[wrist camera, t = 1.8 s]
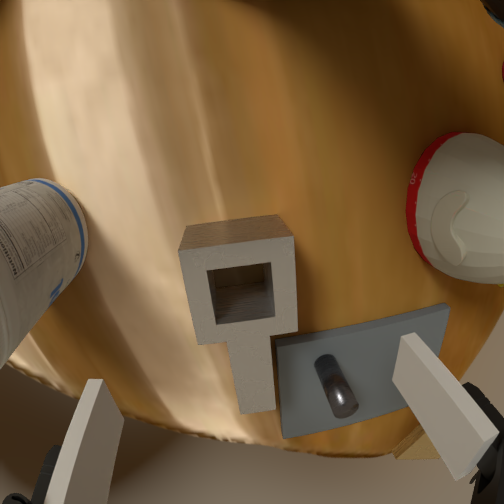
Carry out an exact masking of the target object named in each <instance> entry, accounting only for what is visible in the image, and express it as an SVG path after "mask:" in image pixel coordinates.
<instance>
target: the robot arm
mask: <svg viewBox="0 0 504 504" xmlns="http://www.w3.org/2000/svg"><path fill="white" fill-rule="evenodd" d="M480 1H481V2H482V3H483V5H484V8H485V9H486V10H487V13H488V14H489V16H490V17H491V18H492V19H493V20H494V21H495V22H496V23H498V24H499V25H501V26H502V27H503V28H504V0H480ZM392 381H393V382H394V384H395V385H396V387H397V388H398V390H399V392H400V393H401V395H402V396H403V398H404V399H405V401H406V402H407V404H408V405H409V407H410V408H411V410H412V412H413V413H414V415H415V416H416V418H417V419H418V421H419V423H420V424H421V426H422V427H423V429H424V430H425V432H426V434H427V435H428V437H429V438H430V440H431V442H432V443H433V445H434V446H435V448H436V450H437V451H438V453H439V455H440V456H441V458H442V460H443V461H444V463H445V464H446V466H447V468H448V469H449V471H450V473H451V474H452V476H453V478H454V480H455V481H457V480H458V479H460V478H462V477H464V476H466V475H467V474H469V473H471V471H472V470H473V469H474V467H475V466H476V465H477V467H478V468H479V470H478V472H477V473H476V474H475V475H474V476H473V478H472V479H471V481H470V484H472V483H473V482H474V480H475V479H476V481H475V486H474V491H473V495H472V500H471V504H504V418H503V416H502V415H501V414H500V413H499V412H498V410H497V409H496V408H495V407H494V406H493V405H492V404H490V401H489V400H488V399H487V398H485V395H484V394H483V393H482V392H481V391H480V389H479V388H478V387H476V386H474V385H473V384H471V383H469V382H467V383H465V384H463V385H461V384H460V383H459V382H458V381H457V379H456V378H455V377H454V376H453V375H452V374H451V372H450V371H449V370H448V369H447V368H446V367H445V365H444V364H443V363H442V362H441V361H440V360H439V359H438V357H437V356H436V355H435V354H434V353H433V352H432V351H431V350H430V348H429V347H428V346H427V345H426V344H425V343H424V342H423V341H422V340H421V338H420V337H419V336H418V335H417V334H416V333H415V332H414V333H410V334H407V335H403V336H401V339H400V344H399V350H398V355H397V360H396V364H395V369H394V374H393V378H392ZM123 422H124V418H123V417H122V415H121V413H120V411H119V409H118V407H117V405H116V404H115V402H114V400H113V398H112V396H111V394H110V392H109V390H108V388H107V386H106V384H105V382H104V380H103V379H88V381H87V384H86V386H85V388H84V391H83V393H82V396H81V398H80V401H79V403H78V406H77V408H76V411H75V413H74V416H73V418H72V421H71V424H70V426H69V429H68V432H67V434H66V437H65V440H64V443H63V445H62V446H58V445H54V446H53V447H52V448H51V449H50V450H49V452H48V453H47V455H46V457H45V460H44V463H43V464H44V465H43V466H42V469H41V474H39V477H38V480H37V483H36V486H35V489H34V492H33V495H32V499H31V501H29V500H28V499H27V498H26V497H25V496H23V495H22V494H19V493H13V494H10V495H8V496H7V497H6V498H5V499H4V501H3V503H2V504H107V499H108V494H109V488H110V483H111V478H112V473H113V468H114V463H115V458H116V453H117V449H118V444H119V440H120V436H121V431H122V427H123Z"/></svg>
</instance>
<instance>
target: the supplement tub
mask: <svg viewBox="0 0 504 504" xmlns="http://www.w3.org/2000/svg"><path fill="white" fill-rule="evenodd" d="M87 249H88V231H87V225H86V221H85V218H84V215H83V213H82V210H81V208H80V206H79V204H78V203H77V201H76V200H75V199H74V197H73V196H72V195H71V194H70V193H69V192H68V191H67V190H66V189H65V188H64V187H62V186H61V185H59V184H57V183H56V182H53V181H51V180H47V179H42V178H36V179H29V180H25V181H21V182H18V183H15V184H11V185H8V186H4V187H1V188H0V369H1V368H2V366H3V365H4V364H5V363H6V361H7V360H8V359H9V357H10V356H11V355H12V353H13V352H14V351H15V349H16V348H17V347H18V345H19V344H20V343H21V341H22V340H23V339H24V338H25V336H26V335H27V334H28V332H29V331H30V330H31V329H32V327H33V326H34V325H35V323H36V322H37V321H38V320H39V319H40V317H41V316H42V315H43V314H44V313H45V311H46V310H47V309H48V308H49V307H50V305H51V304H52V303H53V302H54V301H55V299H56V298H57V297H58V296H59V295H60V293H61V292H62V291H63V290H64V289H65V288H66V287H67V286H68V285H69V283H70V282H71V281H72V280H73V279H74V278H75V276H76V275H77V274H78V273H79V271H80V269H81V267H82V265H83V263H84V261H85V257H86V254H87Z"/></svg>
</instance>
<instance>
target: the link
mask: <svg viewBox="0 0 504 504" xmlns="http://www.w3.org/2000/svg"><path fill="white" fill-rule="evenodd" d="M178 253H179V259H180V264H181V269H182V274H183V279H184V284H185V289H186V293H187V298H188V303H189V307H190V312H191V316H192V321H193V325H194V329H195V334H196V338H197V342H198V345H203V344H212V343H221V342H227V346H228V352H229V357H230V363H231V368H232V373H233V378H234V384H235V389H236V394H237V399H238V404H239V409H240V414H248V413H256V412H263V411H269V410H276V403H275V391H274V379H273V368H272V356H271V344H270V336H272V335H278V334H285V333H291V332H297V331H298V317H297V291H296V270H295V251H294V236H293V234H292V233H291V232H290V230H289V229H288V228H287V226H286V225H285V224H284V222H283V221H282V220H281V219H280V217H279V216H278V215H268V216H260V217H252V218H244V219H236V220H228V221H220V222H213V223H205V224H198V225H191V226H186V228H185V231H184V234H183V237H182V240H181V243H180V246H179V249H178ZM259 263H262V264H263V274H264V282H259V283H251V284H244V285H237V286H229V287H221V288H216V287H215V281H214V274H213V270H214V269H222V268H229V267H237V266H244V265H252V264H259Z"/></svg>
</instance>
